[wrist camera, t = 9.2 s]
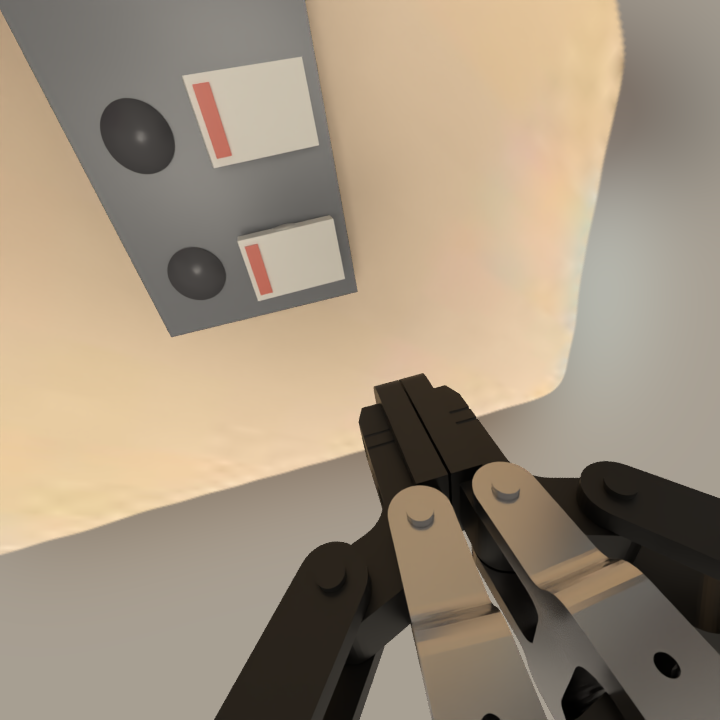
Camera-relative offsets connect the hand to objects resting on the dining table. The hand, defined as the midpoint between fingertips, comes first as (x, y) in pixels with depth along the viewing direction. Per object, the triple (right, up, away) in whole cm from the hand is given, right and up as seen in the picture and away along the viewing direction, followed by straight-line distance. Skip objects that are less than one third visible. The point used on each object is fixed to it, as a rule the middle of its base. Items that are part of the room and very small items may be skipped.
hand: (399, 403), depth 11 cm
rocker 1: (-7, +15, +9) cm, 19 cm away
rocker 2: (-6, +8, +14) cm, 17 cm away
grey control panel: (-11, +17, +13) cm, 24 cm away
